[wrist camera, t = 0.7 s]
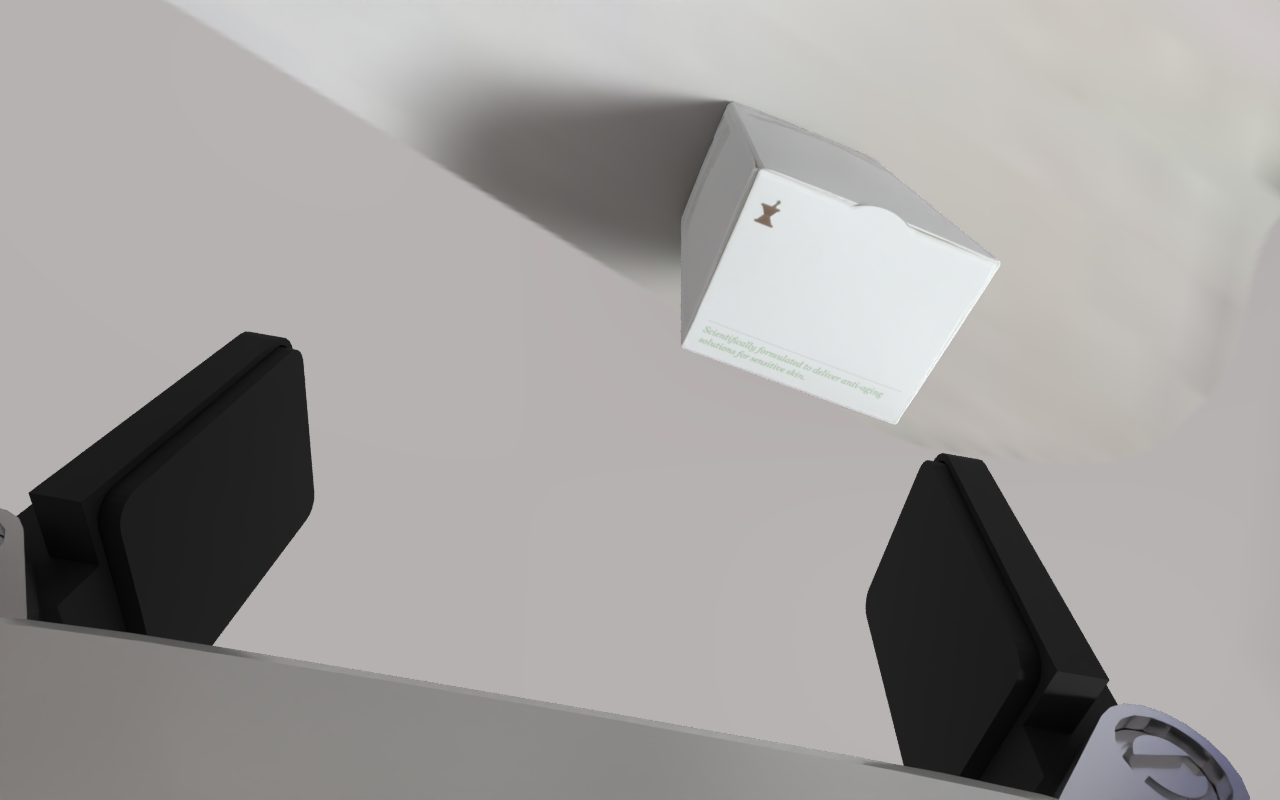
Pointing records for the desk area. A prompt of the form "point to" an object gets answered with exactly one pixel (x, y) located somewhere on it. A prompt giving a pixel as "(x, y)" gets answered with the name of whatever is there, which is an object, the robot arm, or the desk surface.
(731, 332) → the skincare box
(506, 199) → the desk surface
